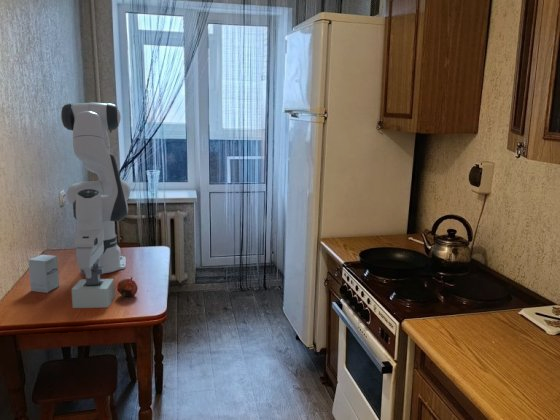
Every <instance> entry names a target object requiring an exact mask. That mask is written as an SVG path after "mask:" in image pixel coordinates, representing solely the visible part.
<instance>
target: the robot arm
mask: <svg viewBox="0 0 560 420" xmlns="http://www.w3.org/2000/svg"><path fill="white" fill-rule="evenodd" d="M121 119H122V118H121V112H120V110H119V108H118V106H117V105H116V104H114V103H109V102H107V103H104V102H93V101H92V102H81V103H66V104H64V105H63V107H62V108H61V110H60V121H61V123H62V125H63V127H64V128H65V129H67V130H68V131H72V146H73V153H74V155H75V156H76V158H78V160H80V161H81V162H82V165H83V168H85V169H86V170H87V171H89V172H91V173H94V174H96V175H97V178H98V180H90V181H89V180H88V181H87V180H86V181H80V182H76V183H73V184H70V185H69V187H68V188H67V190H66V199H67V202H68V203H69V204H70V205H71V207H72V209H73V210H72V212H73V218H74V219H75V220H77V223H76V224H77V225H76V237H75V240H74V241H73V242H74V243H73V245H74V248H76V250H75V254H76V255H75V256H76V262H77V268H78V269H79V270H80V271H81V270H84V272H85V274H86V275H85V279H86V278H91V277H92V272H91V267H104V273H103V274H108V273H113V272H116V271H120V270H124V269H126V267H127V264H126V263H127V259H126V256H123V255H121V253H122V251H121V248H120V246H119V245H118V238H117V234H116V224H115V222H121V221H122V220H124V219H125V218H126V217H127V216H128V213H129V206H128V200H129V198H130V196H131V189H130V188H131V187H130V186H129V184H128V183H127V182H126V181H125V180H123V179H122V178H121V177H120V171H119V169H118V165H117V161H116V158H115V156H114V154H113V153H112V152H111V145H110V144H111V143H110V138H109V133H110V134H111V133H112V132H113V131H114V130H116V129H117V128H119V126H120V125H119V124H120V123H121ZM108 131H109V133H108Z"/></svg>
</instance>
